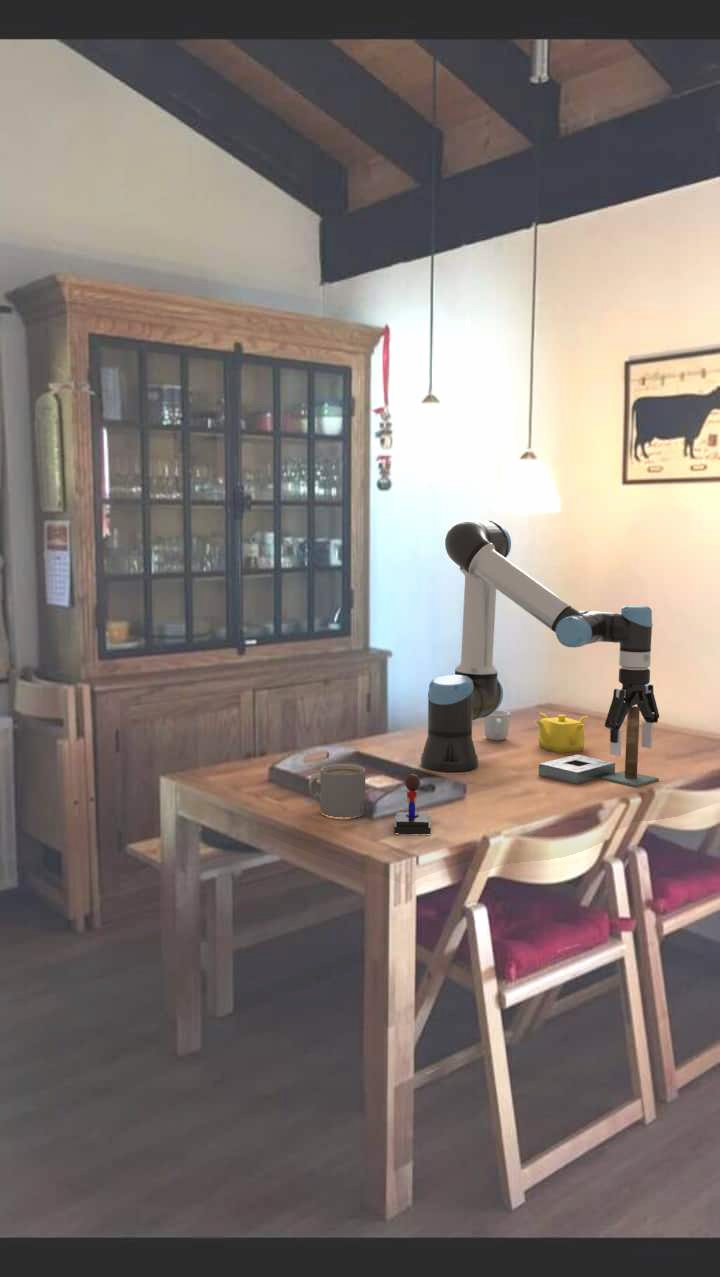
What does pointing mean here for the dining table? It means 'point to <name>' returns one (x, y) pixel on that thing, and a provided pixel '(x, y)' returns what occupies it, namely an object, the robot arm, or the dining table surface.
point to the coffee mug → (339, 789)
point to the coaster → (637, 782)
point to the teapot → (561, 733)
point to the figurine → (412, 812)
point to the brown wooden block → (632, 743)
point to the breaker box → (576, 769)
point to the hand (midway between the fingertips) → (631, 751)
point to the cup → (497, 725)
